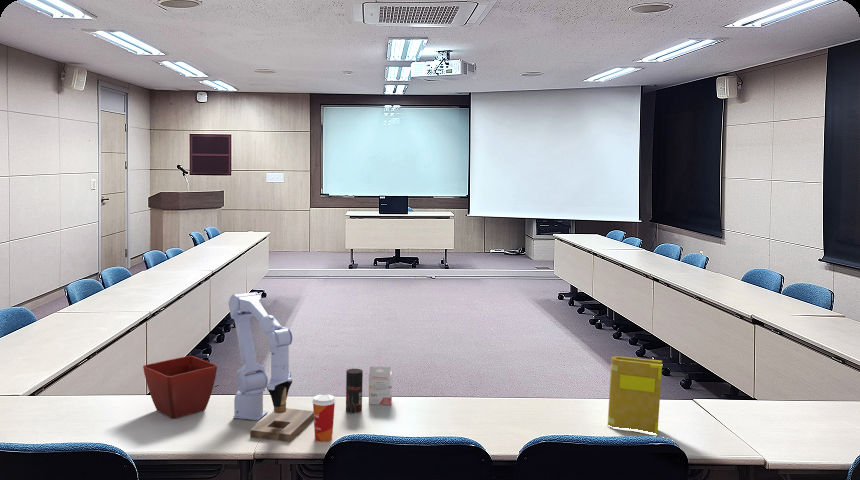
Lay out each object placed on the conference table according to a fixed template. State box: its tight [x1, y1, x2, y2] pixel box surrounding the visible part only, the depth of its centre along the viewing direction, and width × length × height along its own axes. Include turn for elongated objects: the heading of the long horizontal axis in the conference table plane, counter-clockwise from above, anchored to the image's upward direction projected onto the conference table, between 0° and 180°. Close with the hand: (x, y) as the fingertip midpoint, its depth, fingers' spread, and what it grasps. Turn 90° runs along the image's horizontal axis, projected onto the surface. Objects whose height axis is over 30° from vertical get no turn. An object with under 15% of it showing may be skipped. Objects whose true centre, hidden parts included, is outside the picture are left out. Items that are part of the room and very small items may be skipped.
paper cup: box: [311, 394, 337, 443], centre depth 221 cm, size 8×8×14 cm
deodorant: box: [345, 368, 364, 414], centre depth 248 cm, size 6×6×15 cm
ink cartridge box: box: [368, 365, 393, 406], centre depth 257 cm, size 9×5×15 cm, turn 87°
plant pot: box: [142, 355, 218, 419], centre depth 243 cm, size 19×19×17 cm
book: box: [607, 355, 663, 434], centre depth 237 cm, size 17×7×25 cm, turn 71°
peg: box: [273, 386, 287, 413], centre depth 226 cm, size 4×4×8 cm
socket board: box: [249, 407, 314, 443], centre depth 230 cm, size 14×22×2 cm, turn 169°
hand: (279, 404), depth 226 cm, fingers closed on peg, 4 cm apart
